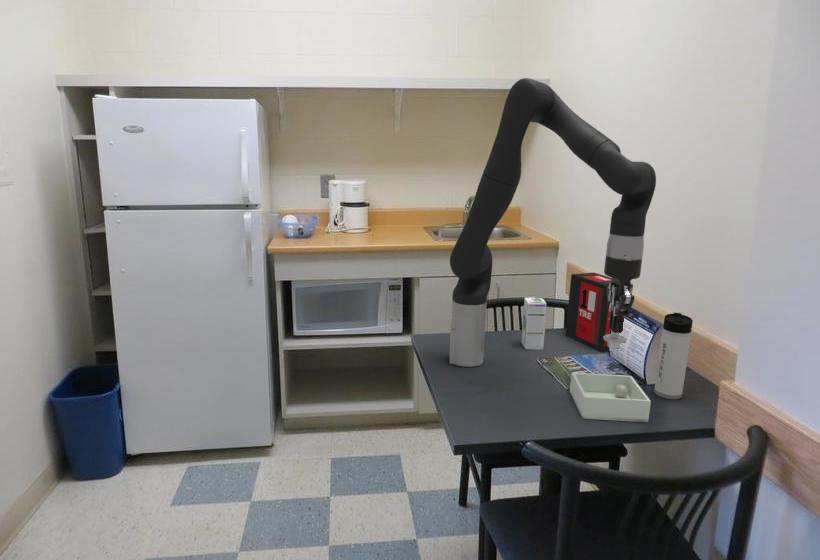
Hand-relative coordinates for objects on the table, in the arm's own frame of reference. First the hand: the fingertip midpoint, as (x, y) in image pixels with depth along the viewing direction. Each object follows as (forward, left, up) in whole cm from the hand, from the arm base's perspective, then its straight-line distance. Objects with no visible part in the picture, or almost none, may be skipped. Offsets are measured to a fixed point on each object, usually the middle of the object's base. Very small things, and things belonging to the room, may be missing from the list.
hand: (615, 330), depth 130 cm
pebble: (+4, +4, -18) cm, 19 cm away
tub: (0, 0, -18) cm, 18 cm away
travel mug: (+17, +9, -19) cm, 27 cm away
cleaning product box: (+8, +46, -19) cm, 50 cm away
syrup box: (-12, +39, -19) cm, 45 cm away
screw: (0, 0, -4) cm, 4 cm away
